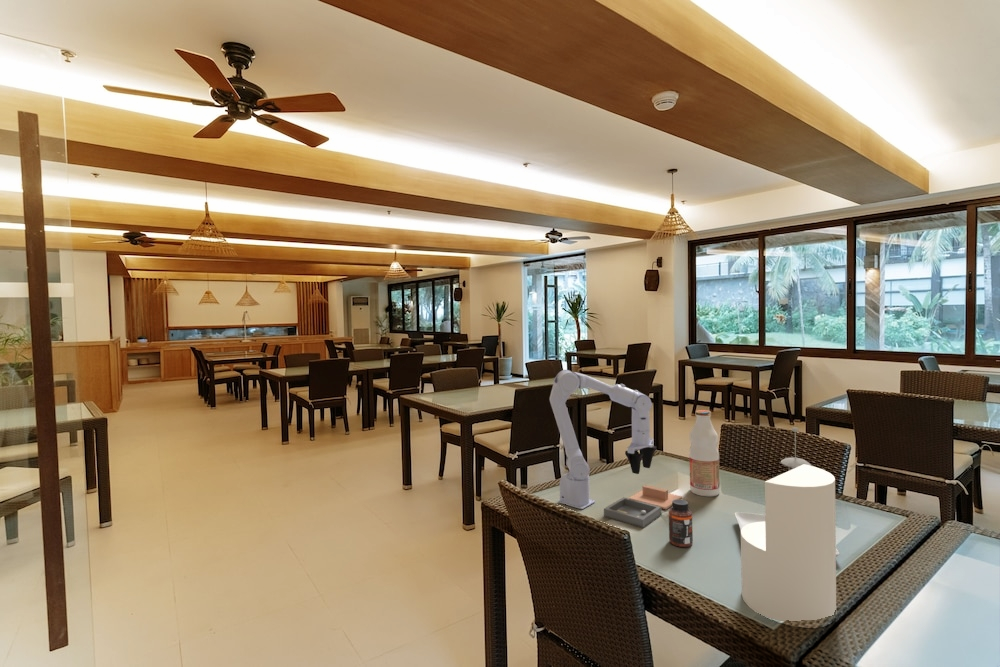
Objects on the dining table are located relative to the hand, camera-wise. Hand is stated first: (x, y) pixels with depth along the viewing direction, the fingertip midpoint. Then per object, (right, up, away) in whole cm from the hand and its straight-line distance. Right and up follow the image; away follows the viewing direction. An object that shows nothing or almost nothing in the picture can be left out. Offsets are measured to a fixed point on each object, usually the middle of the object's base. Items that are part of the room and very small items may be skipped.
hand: (641, 470), depth 161 cm
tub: (-6, -11, -11) cm, 17 cm away
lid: (+5, -10, +1) cm, 11 cm away
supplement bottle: (+2, -11, -30) cm, 32 cm away
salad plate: (+29, -11, -30) cm, 43 cm away
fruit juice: (+24, -9, +6) cm, 26 cm away
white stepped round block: (+14, -12, -58) cm, 61 cm away
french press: (+47, -9, -7) cm, 48 cm away
